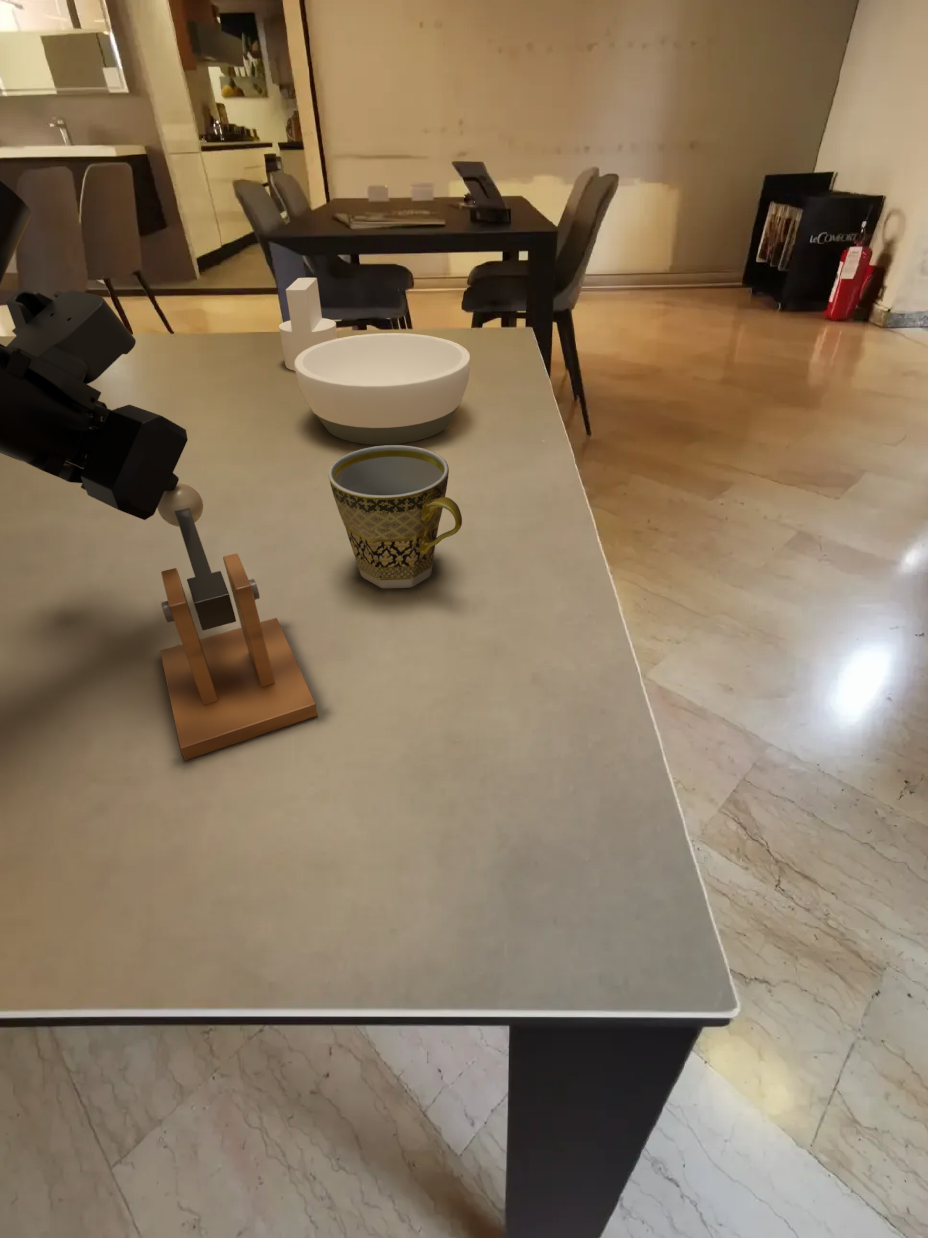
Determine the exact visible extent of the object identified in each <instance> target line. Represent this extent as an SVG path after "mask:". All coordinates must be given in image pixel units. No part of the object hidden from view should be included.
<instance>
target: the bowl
mask: <svg viewBox="0 0 928 1238" xmlns="http://www.w3.org/2000/svg"><path fill="white" fill-rule="evenodd" d="M470 366H471V354H470V352H469V351H468V349H466V348H465V347H464V346H462V344H459V343H457V342H454V341H452V340H449V339H445V338H441V337H438V336H432V335H426V334H419V333H401V332H391V333H390V332H381V333H380V332H379V333H365V334H357V335H350V336H349V335H348V336H344V337H338V339H334V340H330V341H326V342H323V343H320V344H317V345H314V346H312V347H310V348H308V349H306V350H304V351H303V352H302V353H300V354H299V355H298V356H297V358H296V359H295V362H294V367H295V371H294V372H295V375H296V379H297V383H298V386H299V389H300V391H301V393H302V395H303V397H304V399H305V401H306V402H307V404H308V406H309V408H310V410H312V412H313V414H315V416H316V417H317V418H318V419H319V421H320V422H321V424H322V425H323V426H324V427H325V429H326V430H327V432H328V433H330V434H331V435H332V436H334V437H335V438H339V439H341V440H343V441H347V442H350V443H357V444H363V445H372V446H373V445H374V446H385V445H402V444H406V443H412V442H417V441H421V440H424V439H425V440H426V439H428V438H430V437H433V436H435V435H437V434H439V433H440V432H442V431H444V430H445V429H446V428H447V427H448V426H449V424H450V423H451V420H452V418H453V416H454V415H455V413H456V411H457V410H458V407H459V406H460V404H461V402H462V400H463V397H464V395H465V392H466V389H467V386H468V383H469V379H470V369H471V368H470Z"/></svg>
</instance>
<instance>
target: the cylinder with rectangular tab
mask: <svg viewBox="0 0 928 1238" xmlns="http://www.w3.org/2000/svg"><path fill="white" fill-rule="evenodd" d="M285 295H286V300H287V307H288V314H289V320H286V321H283V322H282V323H280V324H279V325H278V329H279V335H280V343H281V349H282V354H283V359H284V365H285V367H286V368H287V369H288V370H291V371H294V372H296V371H295V367H294V362H295V359H296V358H297V356H298V355H299V354H300V353H302V352H303V351H304V350H306V349H308V348H310V347H312V346H314V345H317V344H320V343H323V342H326V341H330V340H334V339H338V338H339V337H338V330H337V322H336V321H335V320H332V319H330V318H326V317H323V314H322V307H321V299H320V292H319V283H318V277H298V278H296V280H294V281H293V282H292V283H291V284H290V285H289V286H288V287H287V288H286V289H285Z"/></svg>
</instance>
